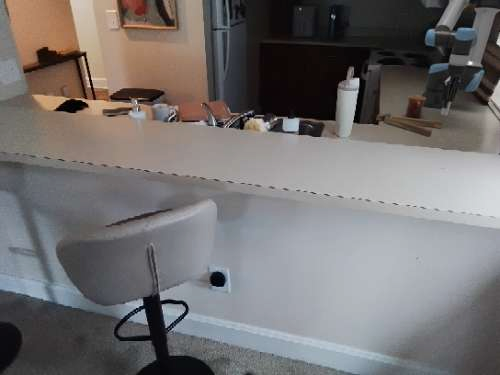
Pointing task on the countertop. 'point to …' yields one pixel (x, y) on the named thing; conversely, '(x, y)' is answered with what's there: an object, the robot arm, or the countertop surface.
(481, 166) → the countertop surface
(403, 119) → the tongs jaw
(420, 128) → the wooden kitchen tongs
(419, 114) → the mug
